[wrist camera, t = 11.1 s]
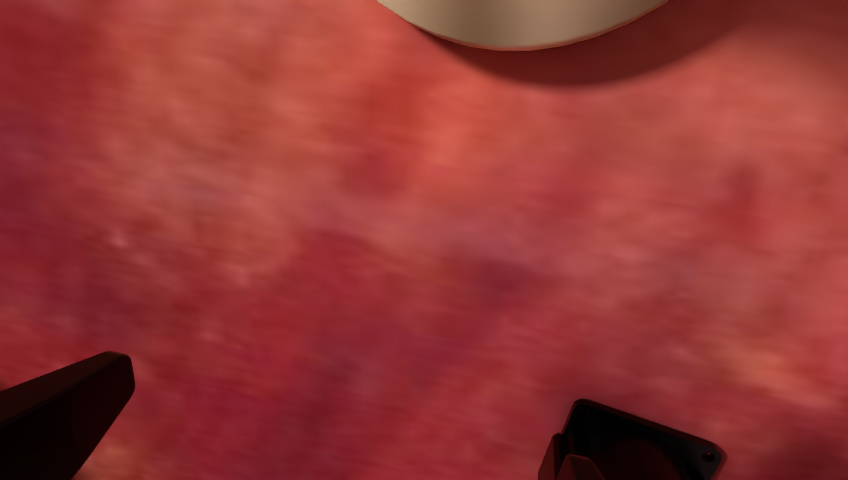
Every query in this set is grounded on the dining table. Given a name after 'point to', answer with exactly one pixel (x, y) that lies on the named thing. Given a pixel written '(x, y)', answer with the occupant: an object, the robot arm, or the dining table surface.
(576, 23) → the disc
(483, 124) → the dining table surface
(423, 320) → the dining table surface
